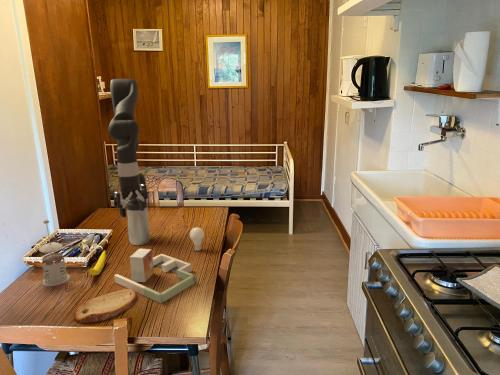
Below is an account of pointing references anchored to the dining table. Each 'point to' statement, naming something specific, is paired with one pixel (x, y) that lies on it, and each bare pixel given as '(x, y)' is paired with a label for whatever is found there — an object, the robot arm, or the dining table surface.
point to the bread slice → (105, 306)
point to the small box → (141, 265)
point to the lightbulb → (197, 237)
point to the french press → (54, 272)
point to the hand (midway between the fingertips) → (132, 213)
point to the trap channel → (166, 265)
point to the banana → (98, 265)
